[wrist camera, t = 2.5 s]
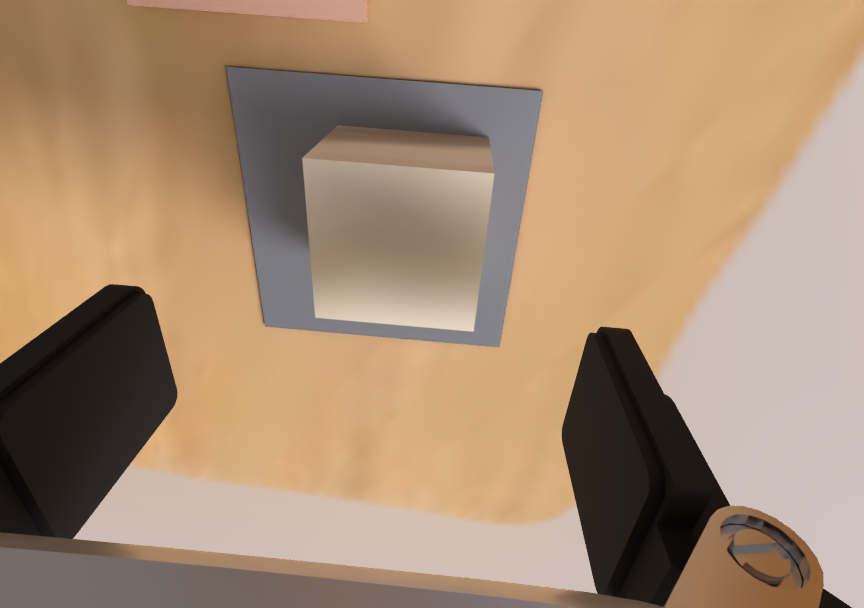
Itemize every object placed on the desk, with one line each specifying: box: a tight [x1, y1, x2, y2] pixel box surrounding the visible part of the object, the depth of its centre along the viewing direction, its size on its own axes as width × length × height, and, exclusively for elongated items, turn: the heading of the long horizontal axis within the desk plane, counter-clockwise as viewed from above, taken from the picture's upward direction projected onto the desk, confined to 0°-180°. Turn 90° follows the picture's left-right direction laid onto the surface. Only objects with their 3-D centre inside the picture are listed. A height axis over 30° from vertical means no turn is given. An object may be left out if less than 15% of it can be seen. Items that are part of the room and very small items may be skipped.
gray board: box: [226, 67, 543, 347], centre depth 18 cm, size 10×10×1 cm
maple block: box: [302, 125, 495, 332], centre depth 15 cm, size 5×5×4 cm
